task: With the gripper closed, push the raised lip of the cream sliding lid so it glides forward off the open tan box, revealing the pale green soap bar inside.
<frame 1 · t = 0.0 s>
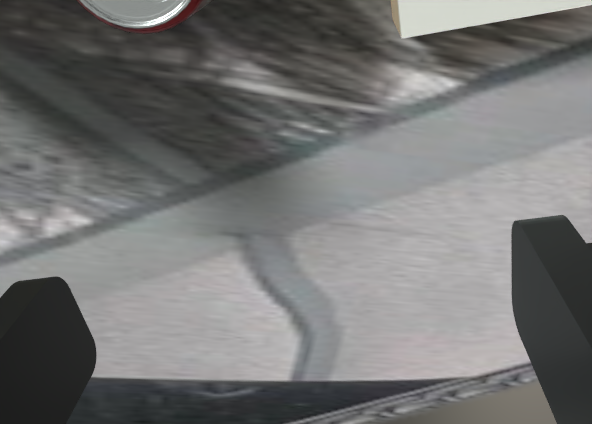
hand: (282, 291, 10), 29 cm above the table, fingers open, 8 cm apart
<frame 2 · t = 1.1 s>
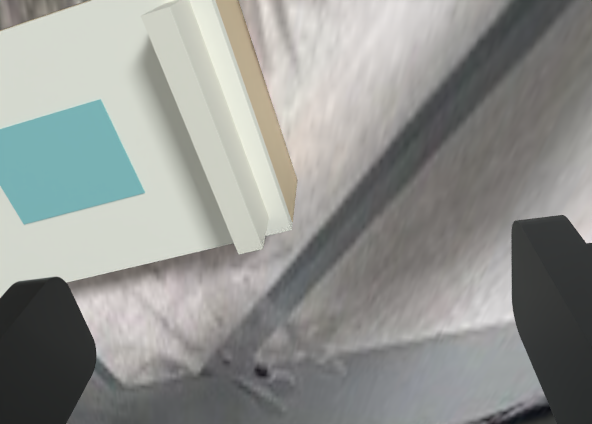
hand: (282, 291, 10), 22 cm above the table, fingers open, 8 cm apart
lid: (68, 169, 26), point 7 cm above the table, slide at 0.0 cm
open tan box: (118, 120, 32), on the table
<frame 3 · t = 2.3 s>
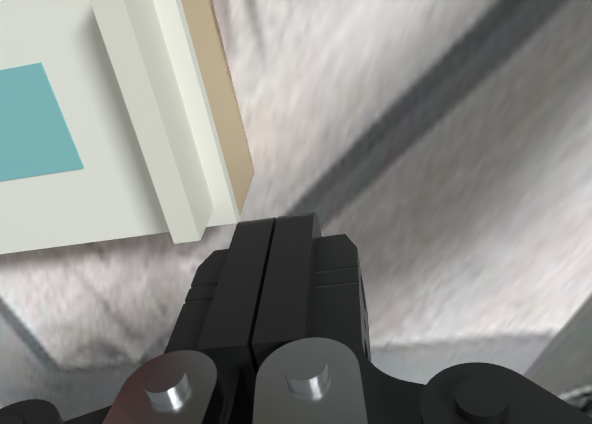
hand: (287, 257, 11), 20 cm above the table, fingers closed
lid: (0, 135, 24), point 7 cm above the table, slide at 0.0 cm
open tan box: (70, 88, 30), on the table
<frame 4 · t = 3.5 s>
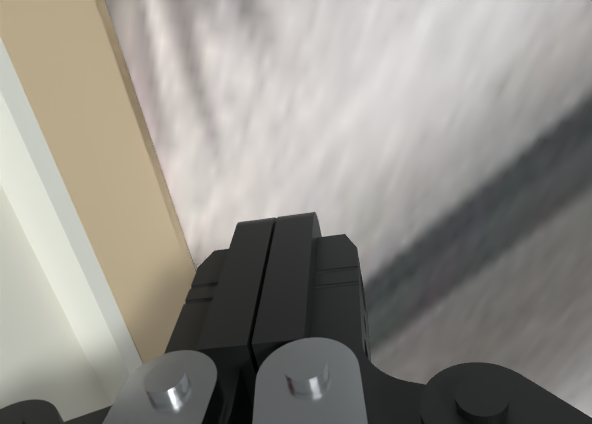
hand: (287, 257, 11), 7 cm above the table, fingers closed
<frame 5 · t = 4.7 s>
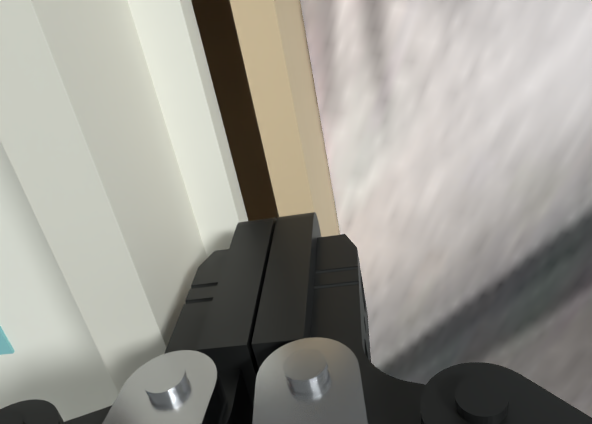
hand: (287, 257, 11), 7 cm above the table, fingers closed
open tan box: (49, 168, 18), on the table
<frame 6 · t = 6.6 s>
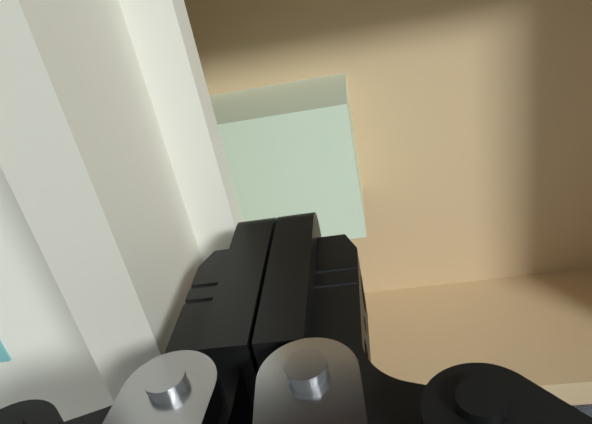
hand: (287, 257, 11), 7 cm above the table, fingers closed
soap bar: (270, 146, 16), point 1 cm above the table, touching open tan box
open tan box: (337, 129, 16), on the table
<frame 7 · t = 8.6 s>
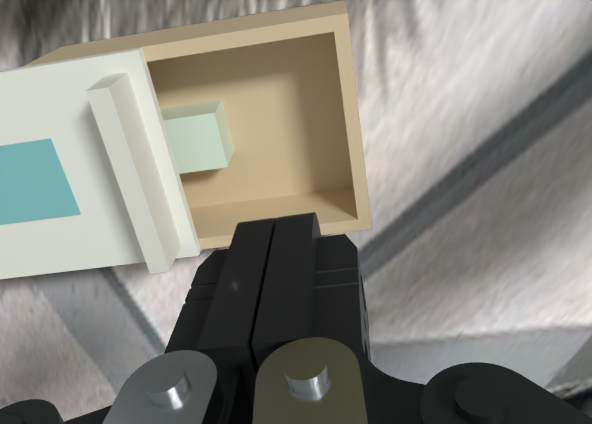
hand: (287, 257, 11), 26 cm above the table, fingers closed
lid: (18, 191, 32), point 7 cm above the table, slide at 11.1 cm
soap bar: (191, 130, 36), point 1 cm above the table, touching open tan box
open tan box: (222, 123, 37), on the table
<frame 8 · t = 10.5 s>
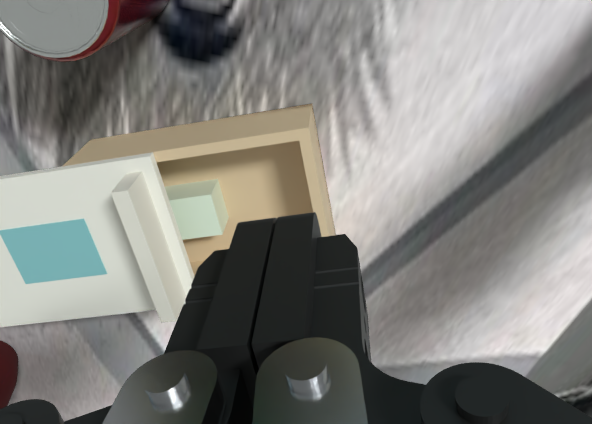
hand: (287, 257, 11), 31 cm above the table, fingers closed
lid: (59, 259, 41), point 7 cm above the table, slide at 11.1 cm
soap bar: (194, 202, 45), point 1 cm above the table, touching open tan box
open tan box: (219, 195, 45), on the table
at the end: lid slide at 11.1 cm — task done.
